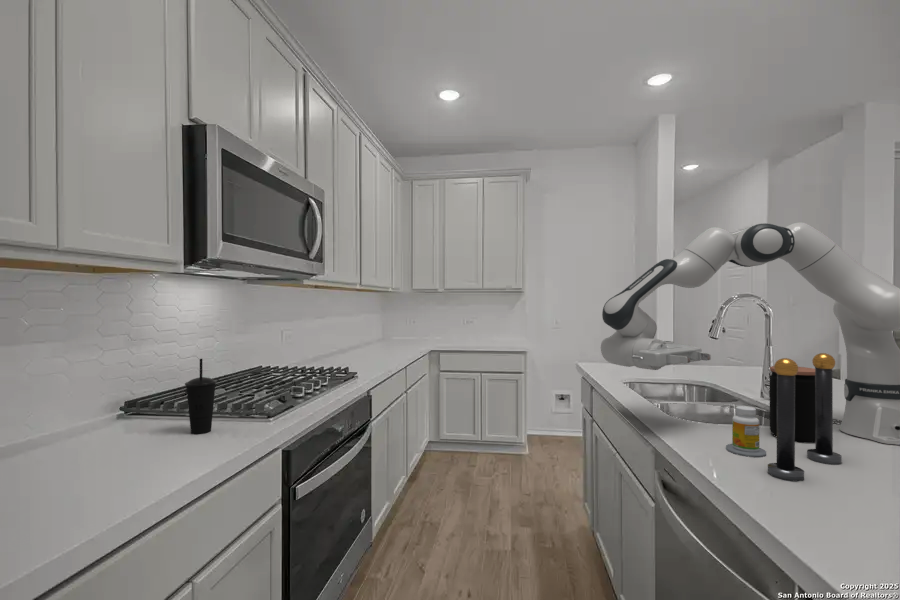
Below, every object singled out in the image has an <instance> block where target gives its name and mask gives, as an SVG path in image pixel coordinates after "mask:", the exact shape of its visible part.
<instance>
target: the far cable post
mask: <svg viewBox="0 0 900 600" xmlns="http://www.w3.org/2000/svg"><path fill="white" fill-rule="evenodd" d="M811 361H812V365H813V367H814V369H815V442H814V444H815V446H814V447H815V448H807V449H806V458H807V459H809V460H810V461H813V462H816V463H819V464H823V465H824V464H825V465H834V466H835V465H836V466H837V465H842V463H843V462H842V461H843V460H842V459H843V458H842V455H841V453H837V452H836V451H833V447H834V443H833V442H834V438H833V437H834V434H833V432H834V430H833V427H834V426H833V425H834V423H833V419H834V417H833V411H834V410H833V409H834V407H833V406H834V405H833V404H834V403H833V400H834V399H833V396H834V395H833V392H834V391H833V389H834V388H833V369H834V367H835V366H836V360H835V357H833V356H832V355H831V354H829V353H826V352H825V353H824V352H820V353H817V354H815V355H814V356H813V358H812V360H811Z"/></svg>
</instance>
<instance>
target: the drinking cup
mask: <svg viewBox="0 0 900 600" xmlns="http://www.w3.org/2000/svg"><path fill="white" fill-rule="evenodd" d="M216 384H217V380H216V379H213V378H210V377H206V376H205V377H204V376H203V358H199V377H196V378H192V379H190V380H188V381H186V382H184V386H185V388H186V399H187V406H188V417H189V418H188V419H189V427H190V434H192V435H203V434H208V433H210V432H211V431H212V423H213V415H214V402H215V394H216Z"/></svg>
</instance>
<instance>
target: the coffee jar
mask: <svg viewBox="0 0 900 600" xmlns="http://www.w3.org/2000/svg"><path fill="white" fill-rule="evenodd" d="M769 371H770V372H771V374H770V375H769V430H770V432H771V434H772V435H773V436H774V435H775V436H777V373H776V372H775V370H774V365H772V366H769ZM775 436H774V437H775ZM795 441H797V442H796V443H804V442H813V443H815V368H812V367H804V366H798V372H797V374H796V375H795Z"/></svg>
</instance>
